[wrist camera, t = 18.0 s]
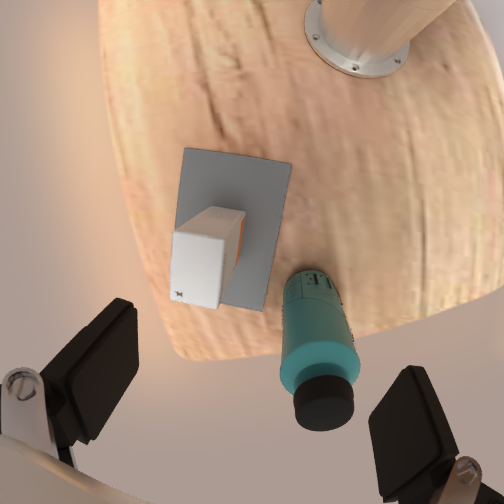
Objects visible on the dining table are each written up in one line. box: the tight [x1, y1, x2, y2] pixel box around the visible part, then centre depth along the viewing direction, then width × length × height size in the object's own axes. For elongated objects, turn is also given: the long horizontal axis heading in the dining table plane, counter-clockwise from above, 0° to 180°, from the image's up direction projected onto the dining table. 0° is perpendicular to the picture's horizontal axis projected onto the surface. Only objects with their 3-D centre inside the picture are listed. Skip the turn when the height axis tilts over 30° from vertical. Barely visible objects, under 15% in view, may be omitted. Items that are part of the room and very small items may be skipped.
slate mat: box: [175, 148, 292, 312], centre depth 33 cm, size 18×12×1 cm, turn 170°
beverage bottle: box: [280, 270, 360, 431], centre depth 25 cm, size 6×7×20 cm
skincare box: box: [170, 206, 246, 309], centre depth 27 cm, size 6×4×12 cm
